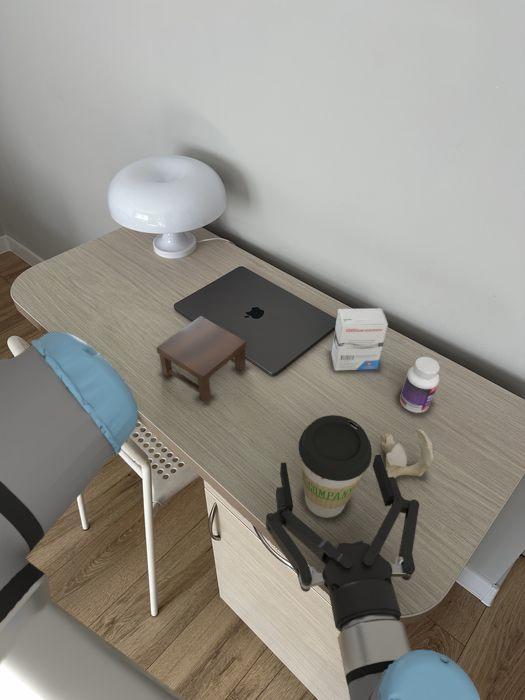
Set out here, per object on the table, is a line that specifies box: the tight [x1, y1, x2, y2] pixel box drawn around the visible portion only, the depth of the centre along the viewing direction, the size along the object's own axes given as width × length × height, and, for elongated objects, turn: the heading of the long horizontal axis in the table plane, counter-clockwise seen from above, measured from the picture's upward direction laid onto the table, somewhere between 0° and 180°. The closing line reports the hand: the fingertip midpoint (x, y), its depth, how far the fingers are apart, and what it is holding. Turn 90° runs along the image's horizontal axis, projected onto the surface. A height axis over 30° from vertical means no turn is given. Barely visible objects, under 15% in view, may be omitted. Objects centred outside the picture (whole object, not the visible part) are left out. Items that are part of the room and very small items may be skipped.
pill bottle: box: [399, 356, 440, 414], centre depth 86 cm, size 5×5×10 cm
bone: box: [380, 428, 435, 479], centre depth 76 cm, size 9×6×10 cm
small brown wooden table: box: [156, 315, 247, 403], centre depth 92 cm, size 12×12×7 cm
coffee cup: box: [298, 414, 373, 519], centre depth 70 cm, size 10×10×15 cm
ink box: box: [330, 308, 389, 371], centre depth 92 cm, size 8×5×12 cm, turn 93°
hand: (330, 463), depth 70 cm, fingers open, 13 cm apart
